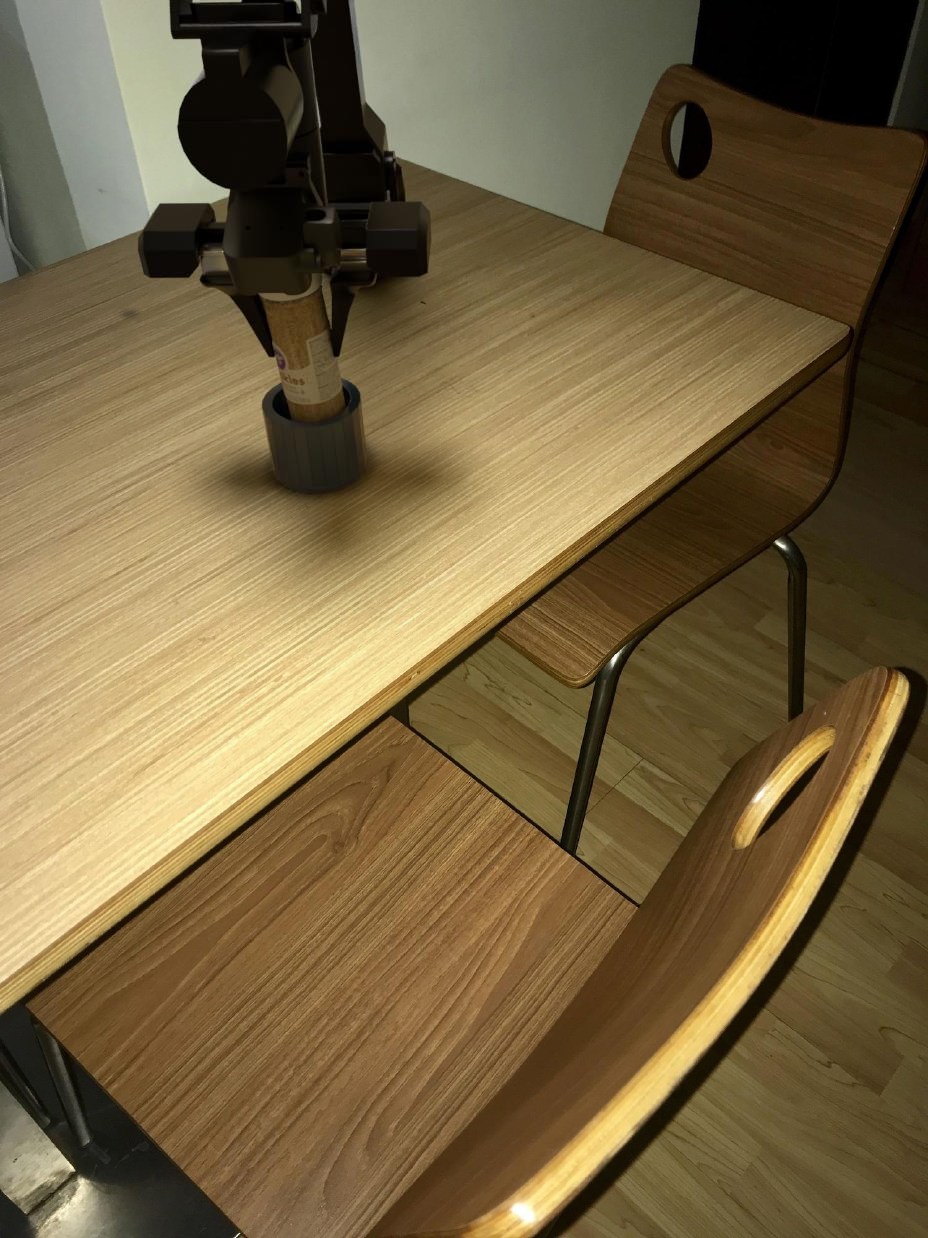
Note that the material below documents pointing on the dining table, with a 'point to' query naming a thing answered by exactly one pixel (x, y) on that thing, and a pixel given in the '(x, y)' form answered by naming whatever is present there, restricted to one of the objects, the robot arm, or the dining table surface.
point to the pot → (316, 444)
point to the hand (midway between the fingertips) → (304, 354)
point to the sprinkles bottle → (305, 353)
